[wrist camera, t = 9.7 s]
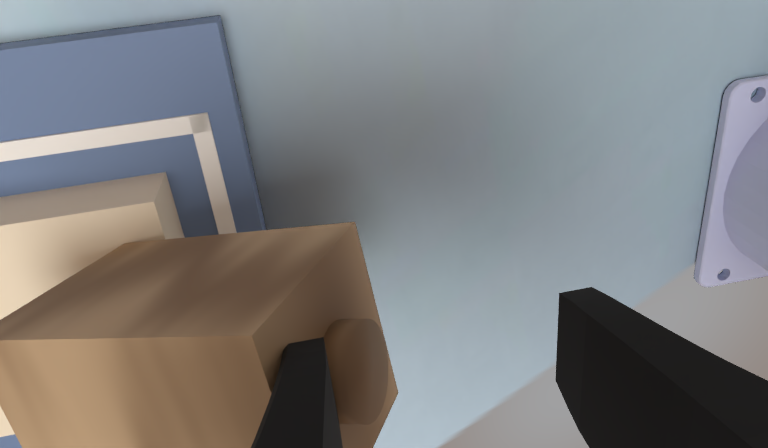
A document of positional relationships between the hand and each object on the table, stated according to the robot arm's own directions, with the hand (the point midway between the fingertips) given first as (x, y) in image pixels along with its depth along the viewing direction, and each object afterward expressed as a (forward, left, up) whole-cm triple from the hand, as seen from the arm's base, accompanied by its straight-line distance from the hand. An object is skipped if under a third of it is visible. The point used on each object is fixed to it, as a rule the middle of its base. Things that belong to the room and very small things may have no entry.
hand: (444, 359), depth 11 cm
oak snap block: (+8, +2, -4) cm, 9 cm away
